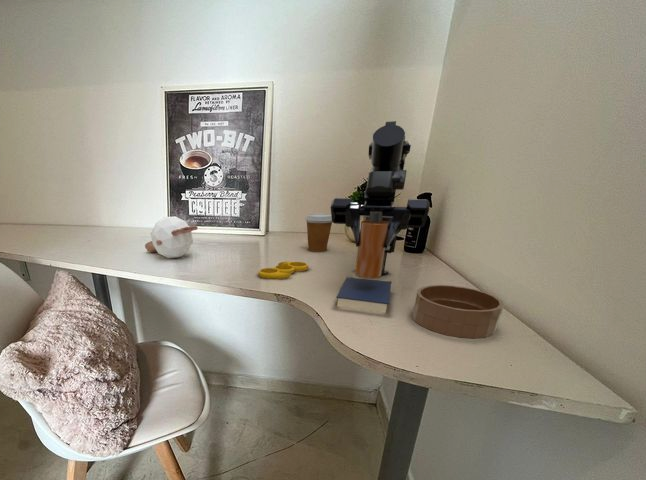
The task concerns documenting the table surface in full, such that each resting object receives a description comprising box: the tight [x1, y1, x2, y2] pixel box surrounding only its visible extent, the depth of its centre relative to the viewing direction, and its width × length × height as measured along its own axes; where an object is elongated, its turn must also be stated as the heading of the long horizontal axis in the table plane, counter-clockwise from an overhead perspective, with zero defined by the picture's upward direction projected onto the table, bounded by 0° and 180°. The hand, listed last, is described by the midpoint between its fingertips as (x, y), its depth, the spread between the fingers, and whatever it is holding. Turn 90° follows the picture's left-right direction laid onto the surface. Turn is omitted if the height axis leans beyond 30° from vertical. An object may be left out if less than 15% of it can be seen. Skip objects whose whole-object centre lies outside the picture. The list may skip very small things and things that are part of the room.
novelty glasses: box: [258, 261, 309, 280], centre depth 94 cm, size 17×2×10 cm
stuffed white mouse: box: [144, 216, 198, 259], centre depth 110 cm, size 14×25×14 cm, turn 51°
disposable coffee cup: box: [305, 213, 333, 253], centre depth 116 cm, size 10×10×12 cm
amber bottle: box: [354, 211, 389, 279], centre depth 68 cm, size 5×5×13 cm
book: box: [336, 276, 392, 314], centre depth 73 cm, size 14×10×3 cm
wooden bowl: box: [411, 284, 505, 339], centre depth 61 cm, size 13×13×6 cm
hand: (371, 246), depth 67 cm, fingers closed on amber bottle, 5 cm apart
